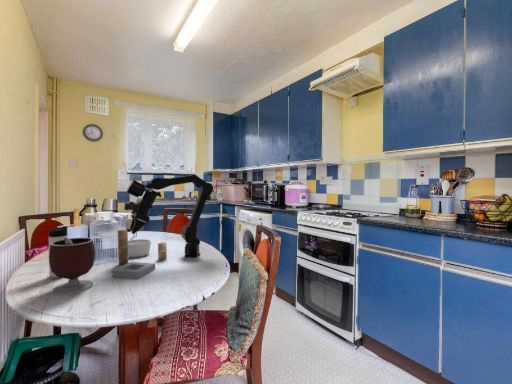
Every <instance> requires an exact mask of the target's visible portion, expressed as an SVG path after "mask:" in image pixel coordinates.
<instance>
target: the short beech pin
mask: <svg viewBox="0 0 512 384" xmlns="http://www.w3.org/2000/svg"><path fill="white" fill-rule="evenodd" d="M167 250H168V249H167V242H165V241H161V242H158V243H157V260H158V261H165V260H167V258H168V257H167V252H168V251H167Z"/></svg>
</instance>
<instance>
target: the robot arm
mask: <svg viewBox="0 0 512 384" xmlns="http://www.w3.org/2000/svg"><path fill="white" fill-rule="evenodd" d="M190 183H192V184H193V185H194V186H195V187H197V188H198V192H197V199H196V203H195V205H194V207H193V210H192V213H191V216H190V218H189V221H188V223H187V225H183V226H182V230H181V231H180V233H181V234H180V235H181V238H182V240H184V242H185V246H184V256H183V257H187V258H189V257H190V258H197V257H198V256H200V255H201V252H200V243H201V240H200V239H199V238H197V231H198V224H199V221H200V219H201V215H202V213H203V211H204V208H205V205H206V202H207V201H208V199H209V198H210V196H211V195H212V193H213V191H214V186H213V184H212V183H210V182H207V181H205V180H204V179H203V178H201V177H199V176H198V175H197V174H190V175H183V176H176V177H168V178H166V177H153V178H152V179H150V180H149V182H148V183H145V184H142V183H140V182H138V181H137V180H135V179H133V180H132V181H131V183H130V185H129V186H128V187H127V190H126V191H125V192H126V193H127V194H129V195H130V196H133V197H135V198H139V197H141V199H140V201H138V202H137V203H136V202H134V201H129V202H124V205H123V206H124V208H123V209H124V211H131V212H130V217H131V224H130V226H129V227H130V228H129V231H130V232H131V234H132V235H135V234H136V233H137V232H139V230H140V229H142V228H143V227H144V226H145V225H147V223H149V222H150V219H151V218H150V216H149V213H150V211H151V210H152V209H153V205H154V203H155V202H156V199H157V197H159V198H162V193H161V191H159V190H163V189H166V188H168V187H172V186H176V185H182V184H190ZM148 189H149V190H148ZM150 189H151V190H150ZM155 190H156V191H155Z"/></svg>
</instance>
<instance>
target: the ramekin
mask: <svg viewBox="0 0 512 384" xmlns="http://www.w3.org/2000/svg"><path fill="white" fill-rule="evenodd" d="M151 244H152V240H150V239H147V238H145V239H144V238H139V239H138V238H136V239H128V258H141V257H145V255H146V256H148V255H149V253H150V250H151Z"/></svg>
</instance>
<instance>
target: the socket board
mask: <svg viewBox="0 0 512 384" xmlns="http://www.w3.org/2000/svg"><path fill="white" fill-rule="evenodd" d="M154 270H156V263H152V262H140V261H139V262H138V261H130V262H129V261H128V263H127V264H125V265H123V266H119V267H116V268H114V269H112V270H111V271H112V272H111V275H112V276H111V277H114V278H115V277H116V278H128V279H140V278H143V277H144V276H146V275H147V274H149V273H151V272H154Z"/></svg>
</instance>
